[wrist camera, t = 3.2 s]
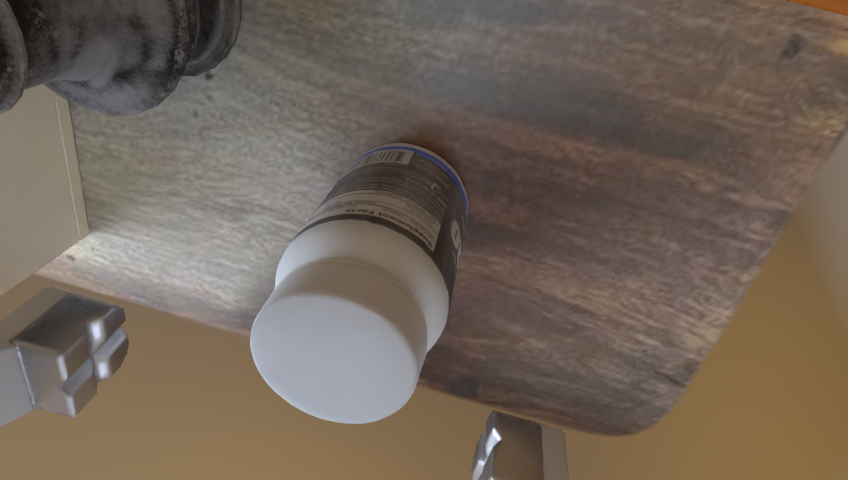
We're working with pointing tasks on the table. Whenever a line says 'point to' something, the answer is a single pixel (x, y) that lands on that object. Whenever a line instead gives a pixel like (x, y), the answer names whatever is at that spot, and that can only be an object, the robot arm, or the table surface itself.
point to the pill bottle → (365, 287)
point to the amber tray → (827, 5)
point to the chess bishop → (111, 48)
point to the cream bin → (38, 185)
